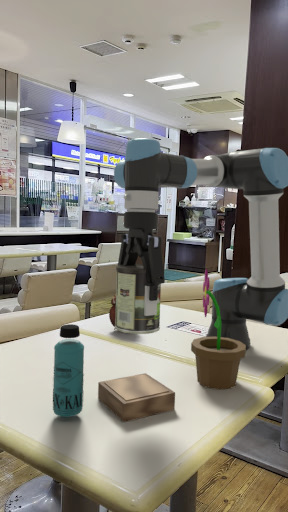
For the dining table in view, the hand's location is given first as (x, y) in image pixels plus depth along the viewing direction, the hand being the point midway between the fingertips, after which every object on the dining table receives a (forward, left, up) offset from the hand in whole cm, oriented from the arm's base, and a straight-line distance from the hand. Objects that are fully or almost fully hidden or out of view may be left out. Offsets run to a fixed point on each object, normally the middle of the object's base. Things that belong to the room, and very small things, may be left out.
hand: (138, 309), depth 96 cm
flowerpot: (-26, -2, -22) cm, 34 cm away
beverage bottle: (+16, -1, -22) cm, 28 cm away
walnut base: (0, 0, -22) cm, 22 cm away
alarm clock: (-26, -56, -22) cm, 66 cm away
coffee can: (0, 0, -4) cm, 4 cm away
